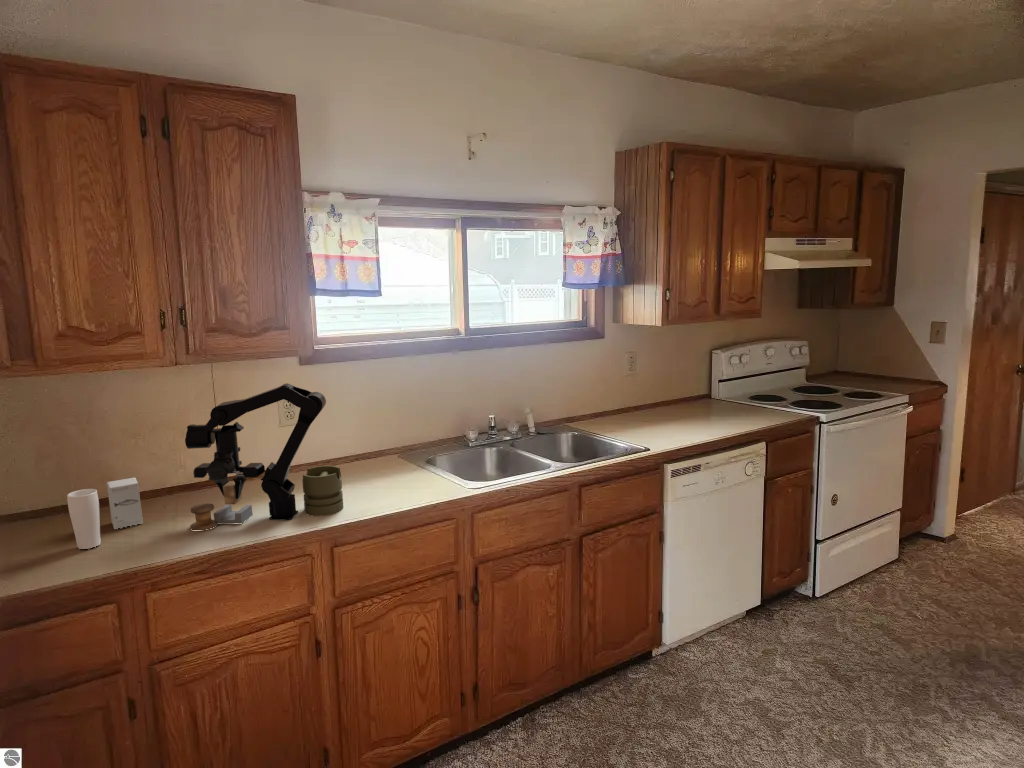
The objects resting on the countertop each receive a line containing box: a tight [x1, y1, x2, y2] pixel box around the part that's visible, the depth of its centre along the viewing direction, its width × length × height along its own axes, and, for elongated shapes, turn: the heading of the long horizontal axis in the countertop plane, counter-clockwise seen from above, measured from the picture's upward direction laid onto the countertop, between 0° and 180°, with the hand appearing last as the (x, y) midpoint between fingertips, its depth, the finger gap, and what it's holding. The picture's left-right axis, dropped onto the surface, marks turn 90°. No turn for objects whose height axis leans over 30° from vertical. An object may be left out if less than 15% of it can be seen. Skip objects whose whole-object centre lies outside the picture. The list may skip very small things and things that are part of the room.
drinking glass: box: [66, 488, 102, 550], centre depth 173 cm, size 7×7×15 cm
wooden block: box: [223, 480, 243, 505], centre depth 191 cm, size 3×4×6 cm, turn 177°
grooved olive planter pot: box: [302, 465, 344, 517], centre depth 198 cm, size 11×12×11 cm
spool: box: [189, 502, 219, 531], centre depth 186 cm, size 7×7×6 cm
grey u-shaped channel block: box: [213, 504, 254, 524], centre depth 192 cm, size 8×7×3 cm
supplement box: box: [106, 477, 144, 530], centre depth 189 cm, size 7×7×13 cm
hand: (232, 498), depth 191 cm, fingers closed on wooden block, 3 cm apart
